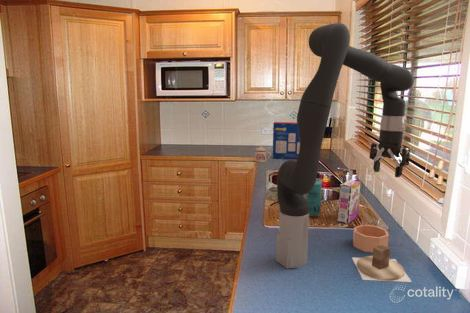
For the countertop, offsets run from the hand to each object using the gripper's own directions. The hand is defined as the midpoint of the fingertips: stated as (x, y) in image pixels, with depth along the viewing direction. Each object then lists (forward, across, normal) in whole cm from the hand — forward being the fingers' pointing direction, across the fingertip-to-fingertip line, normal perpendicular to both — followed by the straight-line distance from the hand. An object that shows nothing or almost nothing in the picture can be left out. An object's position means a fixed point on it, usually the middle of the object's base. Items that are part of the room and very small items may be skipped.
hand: (386, 174), depth 128 cm
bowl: (+26, +1, -7) cm, 27 cm away
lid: (+25, +14, -18) cm, 34 cm away
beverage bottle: (+26, -32, -3) cm, 41 cm away
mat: (+26, +14, -18) cm, 34 cm away
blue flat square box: (+25, -137, +72) cm, 156 cm away
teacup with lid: (+25, -139, +46) cm, 148 cm away
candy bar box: (+26, -22, +8) cm, 35 cm away
